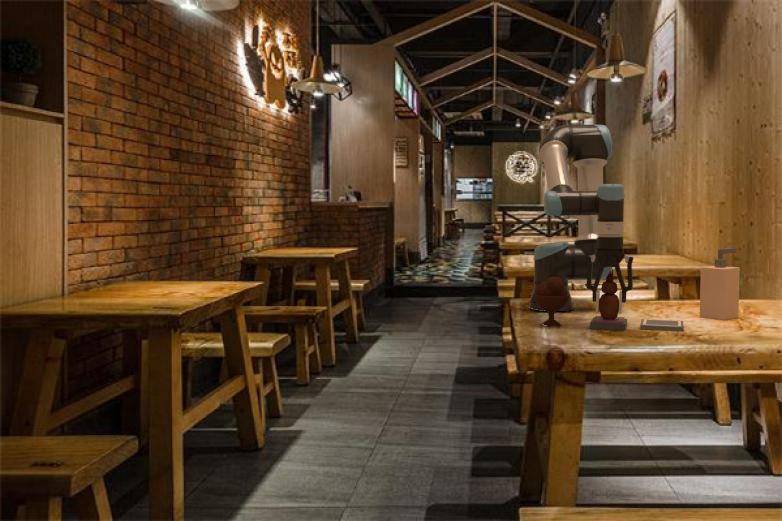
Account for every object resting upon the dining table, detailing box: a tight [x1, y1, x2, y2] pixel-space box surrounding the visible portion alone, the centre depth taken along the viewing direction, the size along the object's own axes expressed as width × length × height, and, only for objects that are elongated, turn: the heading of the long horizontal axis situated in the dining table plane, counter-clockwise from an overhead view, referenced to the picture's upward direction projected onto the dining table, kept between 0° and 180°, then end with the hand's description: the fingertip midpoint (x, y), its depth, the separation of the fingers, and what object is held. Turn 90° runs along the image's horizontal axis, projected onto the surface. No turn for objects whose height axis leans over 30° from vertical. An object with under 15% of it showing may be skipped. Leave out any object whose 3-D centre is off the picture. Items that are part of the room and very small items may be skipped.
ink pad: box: [589, 315, 628, 332], centre depth 230 cm, size 10×10×3 cm
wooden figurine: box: [599, 269, 619, 319], centre depth 229 cm, size 7×6×15 cm
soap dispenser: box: [699, 247, 741, 321], centre depth 246 cm, size 13×9×22 cm
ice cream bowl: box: [533, 277, 571, 327], centre depth 234 cm, size 11×11×15 cm
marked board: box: [639, 318, 685, 332], centre depth 229 cm, size 12×12×1 cm
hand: (609, 312), depth 230 cm, fingers closed on wooden figurine, 6 cm apart
